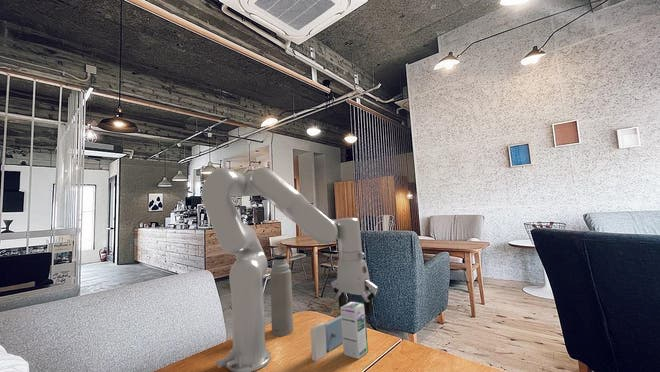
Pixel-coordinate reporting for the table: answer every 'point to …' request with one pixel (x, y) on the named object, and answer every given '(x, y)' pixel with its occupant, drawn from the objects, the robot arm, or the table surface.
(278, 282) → the thermos bottle
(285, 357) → the table surface
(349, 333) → the syrup box
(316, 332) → the wall
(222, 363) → the robot arm
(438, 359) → the table surface
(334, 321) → the door
